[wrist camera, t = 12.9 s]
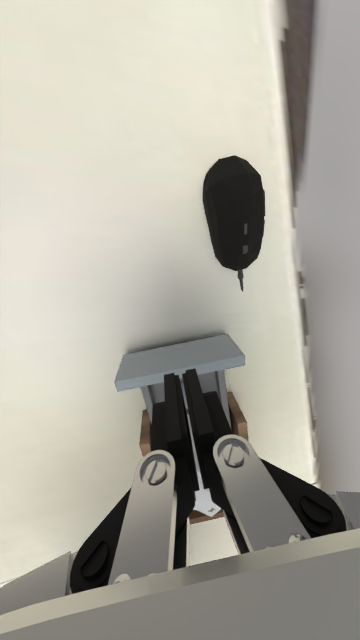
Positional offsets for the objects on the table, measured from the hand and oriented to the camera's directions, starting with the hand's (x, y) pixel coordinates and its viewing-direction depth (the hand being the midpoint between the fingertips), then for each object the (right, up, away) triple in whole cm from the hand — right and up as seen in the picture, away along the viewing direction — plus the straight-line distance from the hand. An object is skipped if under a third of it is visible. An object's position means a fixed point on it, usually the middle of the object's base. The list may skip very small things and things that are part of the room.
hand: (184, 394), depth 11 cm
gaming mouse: (+6, +15, +15) cm, 22 cm away
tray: (+1, -8, +20) cm, 21 cm away
